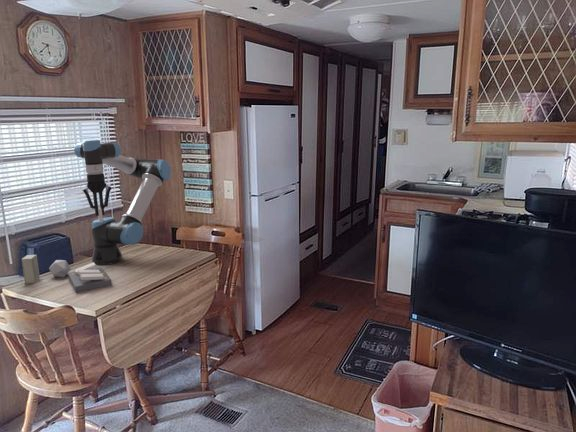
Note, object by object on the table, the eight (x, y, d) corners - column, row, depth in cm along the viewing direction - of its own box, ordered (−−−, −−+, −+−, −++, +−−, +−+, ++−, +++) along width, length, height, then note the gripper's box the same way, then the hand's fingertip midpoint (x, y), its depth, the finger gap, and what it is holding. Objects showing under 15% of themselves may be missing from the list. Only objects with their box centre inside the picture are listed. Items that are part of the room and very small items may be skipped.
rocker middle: (77, 272, 201) (77, 269, 201) (98, 272, 206) (98, 269, 206) (79, 275, 198) (79, 272, 197) (100, 275, 203) (100, 272, 203)
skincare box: (30, 279, 208) (27, 254, 205) (40, 278, 208) (37, 254, 206) (24, 283, 202) (20, 258, 199) (34, 283, 202) (31, 258, 200)
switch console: (68, 279, 207) (67, 271, 206) (102, 272, 215) (101, 265, 215) (75, 293, 190) (74, 285, 189) (111, 285, 198) (111, 277, 198)
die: (55, 281, 206) (66, 264, 206) (42, 271, 207) (53, 254, 208) (66, 281, 214) (77, 265, 214) (53, 272, 215) (64, 255, 216)
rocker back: (75, 272, 207) (74, 269, 207) (94, 264, 212) (93, 262, 211) (77, 274, 204) (76, 272, 203) (96, 267, 208) (95, 264, 208)
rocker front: (80, 277, 195) (80, 274, 195) (101, 276, 201) (101, 273, 200) (81, 280, 192) (82, 277, 192) (103, 279, 197) (103, 276, 197)
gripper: (81, 175, 198) (87, 225, 203) (111, 172, 205) (116, 221, 210) (78, 173, 204) (84, 222, 209) (107, 171, 211) (113, 218, 216)
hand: (100, 221), depth 210 cm, fingers closed
